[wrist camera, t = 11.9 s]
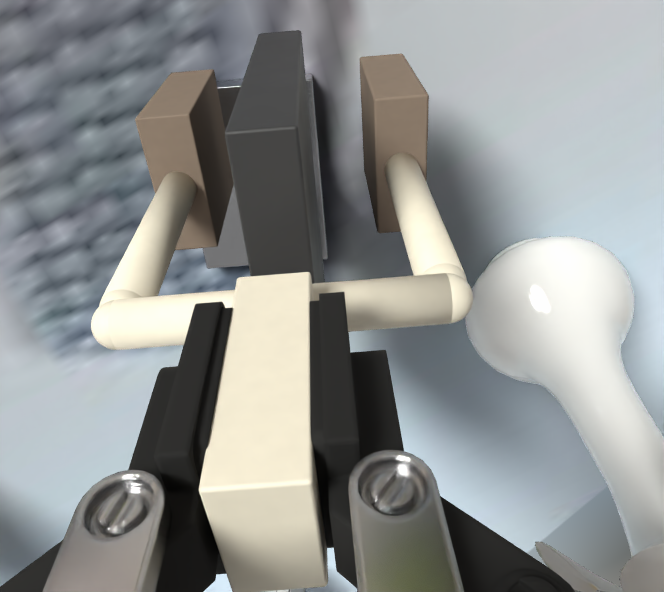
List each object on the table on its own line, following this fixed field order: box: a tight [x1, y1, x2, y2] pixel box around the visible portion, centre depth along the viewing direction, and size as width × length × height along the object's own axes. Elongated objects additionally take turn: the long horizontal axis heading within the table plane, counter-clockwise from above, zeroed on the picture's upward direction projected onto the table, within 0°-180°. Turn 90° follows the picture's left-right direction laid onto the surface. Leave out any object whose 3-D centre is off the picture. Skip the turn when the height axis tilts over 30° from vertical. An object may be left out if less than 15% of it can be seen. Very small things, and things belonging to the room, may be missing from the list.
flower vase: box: [465, 236, 664, 592], centre depth 25 cm, size 13×18×25 cm
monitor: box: [203, 30, 328, 284], centre depth 24 cm, size 7×16×17 cm, turn 4°
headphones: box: [91, 54, 473, 592], centre depth 17 cm, size 10×5×20 cm, turn 94°
